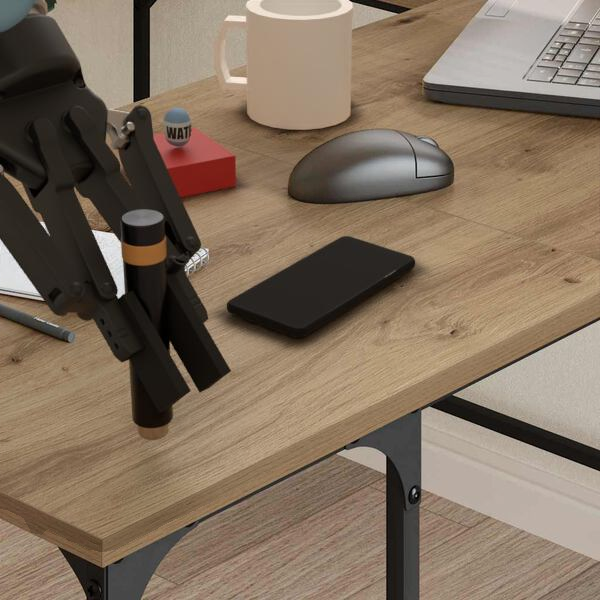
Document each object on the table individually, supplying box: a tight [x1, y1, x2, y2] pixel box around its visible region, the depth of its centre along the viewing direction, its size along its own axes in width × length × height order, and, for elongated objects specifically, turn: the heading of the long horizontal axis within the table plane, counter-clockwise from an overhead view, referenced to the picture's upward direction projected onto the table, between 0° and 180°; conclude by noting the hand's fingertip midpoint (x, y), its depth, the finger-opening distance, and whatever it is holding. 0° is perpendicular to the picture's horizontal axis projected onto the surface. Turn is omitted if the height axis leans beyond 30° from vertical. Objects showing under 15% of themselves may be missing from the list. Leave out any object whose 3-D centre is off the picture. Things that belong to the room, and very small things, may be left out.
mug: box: [212, 0, 354, 131], centre depth 137 cm, size 14×10×11 cm
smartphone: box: [226, 235, 416, 339], centre depth 103 cm, size 7×1×15 cm
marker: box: [120, 209, 174, 441], centre depth 81 cm, size 2×2×14 cm
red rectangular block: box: [153, 107, 237, 198], centre depth 122 cm, size 8×7×6 cm
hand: (195, 391), depth 80 cm, fingers closed on marker, 2 cm apart
